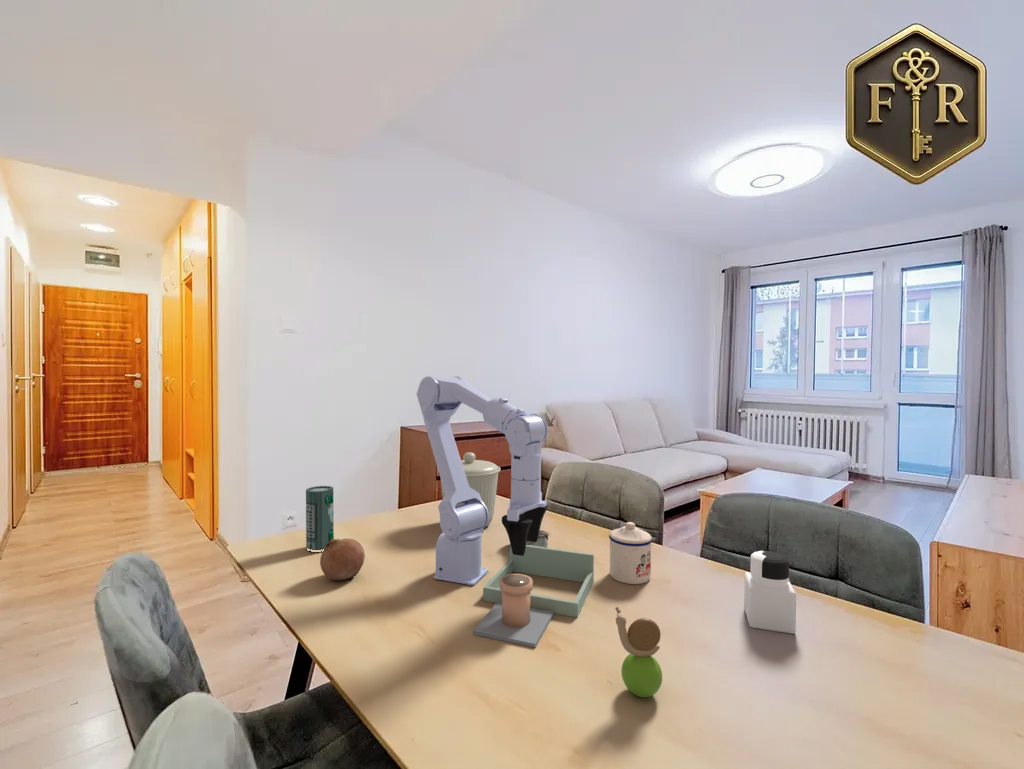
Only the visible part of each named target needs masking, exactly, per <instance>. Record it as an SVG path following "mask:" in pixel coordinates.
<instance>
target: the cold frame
mask: <svg viewBox="0 0 1024 769" xmlns="http://www.w3.org/2000/svg"><path fill="white" fill-rule="evenodd" d="M594 558H595V554H594V553H590V552H581V551H576V550H575V551H573V550H567V549H558V548H552V547H547V548H545V547H538V546H530V545H526V550H525V553H524V555H523V556H520V555H513V553H512V549H511V544H510V543H509V560H508V561H507V562H506V563H505V564H504V565H503V566H502V567H501V568H499V570H498V571H497V573H495V574H494V576H492V577H491V579H489V581H488V582H487V583H486V584H485V585H484V586H483V587H482V601H484V602H490V603H495V604H496V603H497V602H502V591H501V590H500V579H501V578H502V577H503V576H505V575H509V574H513V572H515V573H520V574H526V575H527V574H528V575H534V576H541V577H547V578H554V579H561V580H565V581H566V580H567V581H573V582H579V583H582V585H581V587H580V588H579V591H578V593H577V595H576V597H575V599H574V600H572V599H571V600H570V599H564V598H557V597H552V596H546V595H541V594H534V593H530V608H535V609H540V610H546V611H551V612H554V614H555V615H561V616H566V617H567V616H568V617H571V618H577V619H578V617H579V616H580V613H581V611H582V610H583V606H584V604H585V602H586V599H587V598H588V595H589V593H590V591H591V589H592V586H593V585H594V578H595V577H594V576H595V575H594V574H595V573H594V571H595V569H594V568H595V560H594Z"/></svg>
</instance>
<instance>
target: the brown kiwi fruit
mask: <svg viewBox="0 0 1024 769" xmlns="http://www.w3.org/2000/svg"><path fill="white" fill-rule="evenodd" d="M327 543H328V542H327ZM325 547H326V548H325V549H324V551H323V552H321V554H320V559H319V560H320V562H319V563H320V569H321V571H322V573H323V574H324V576H325V577H326V578H327V579H329V580H331V581H334V582H336V581H335V580H337V581H344V580H350V578H351V579H353V578H354V577H355V576H356V577H357V575H358V574H359V572H360V571H361V569H362V567H363V566H364V562H365V558H366V555H365V554H366V553H365V549H364V547H363V545H362V544H361V543H360V542H359V541H357V539H355V538H341V539H339V538H336V539H334V540H331V541H329V543H328V544H326V546H325ZM347 578H348V579H347Z"/></svg>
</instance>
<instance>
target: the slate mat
mask: <svg viewBox="0 0 1024 769" xmlns="http://www.w3.org/2000/svg"><path fill="white" fill-rule="evenodd" d="M554 614H555V613H554V612H551V611H546V610H540V609H535V608H530V623H529V624H528V625H526V626H524V627H517V628H515V627H509V626H506V625H505V624H504V623H503V622H502V602H497V603H495V604H494V605H493V607H491V609H490V611H488V612H487V614H486V615H485V616H484V617H483V619H482V620H481V621H480V622H479V623H478V625H476V627H475V628H474V629H473V630H472V635H474V636H478V637H484V638H489V639H493V640H498V641H502V642H508V643H511V644H512V643H513V644H517V645H522V646H527V647H532V648H537V646H538V644H539V642H540V641H541V639H542V638H543V635H544V633H545V631H546V630H547V627H548V626H549V625H550V622H551V620H552V619H553V617H554Z"/></svg>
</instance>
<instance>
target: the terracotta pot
mask: <svg viewBox="0 0 1024 769" xmlns="http://www.w3.org/2000/svg"><path fill="white" fill-rule="evenodd" d="M533 582H534V580H533V578H532V577H531V576H529V575H527V574H524V573H511V574H509V575H505V576H503V577H502V578H501V579H500V587H499V588H500V590H501V591H502V622H503V623H504V624H505V625H506V626H509V627H515V628H517V627H524V626H526V625H528V624H529V623H530V594H531V592H532V590H533V586H534V584H533Z"/></svg>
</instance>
